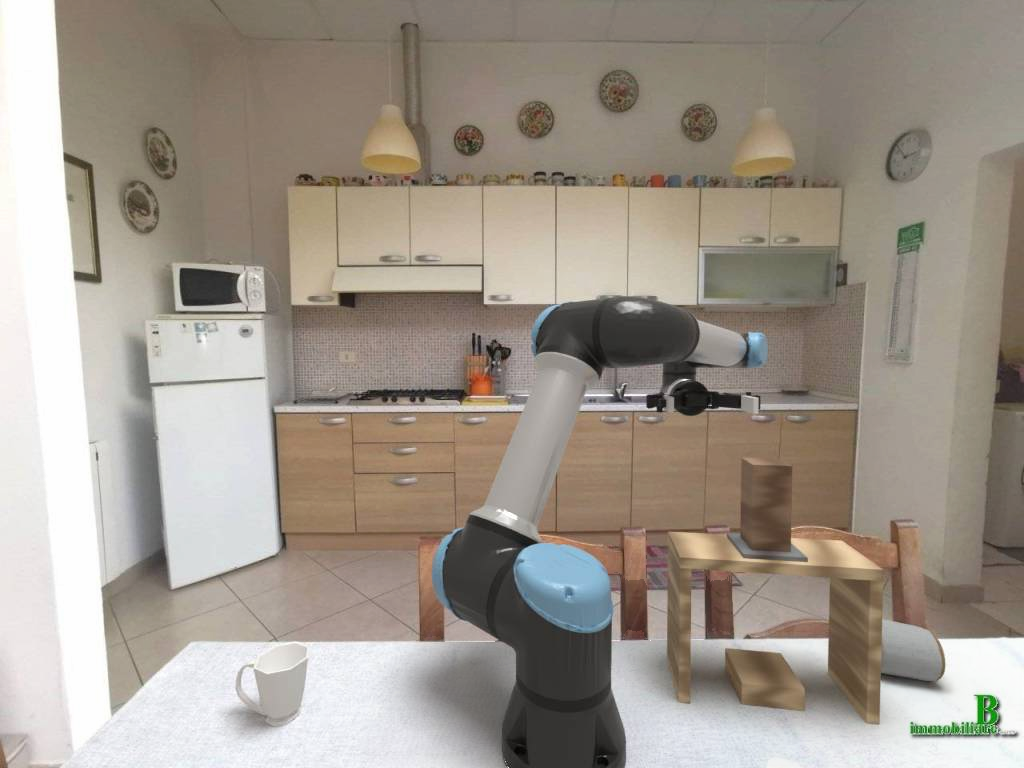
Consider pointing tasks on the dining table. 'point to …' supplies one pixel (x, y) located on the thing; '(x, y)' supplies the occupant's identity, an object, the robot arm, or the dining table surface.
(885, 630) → the ceramic mug
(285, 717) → the cup
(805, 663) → the dining table surface
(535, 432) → the robot arm
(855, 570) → the wooden side table
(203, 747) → the dining table surface
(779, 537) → the walnut block
